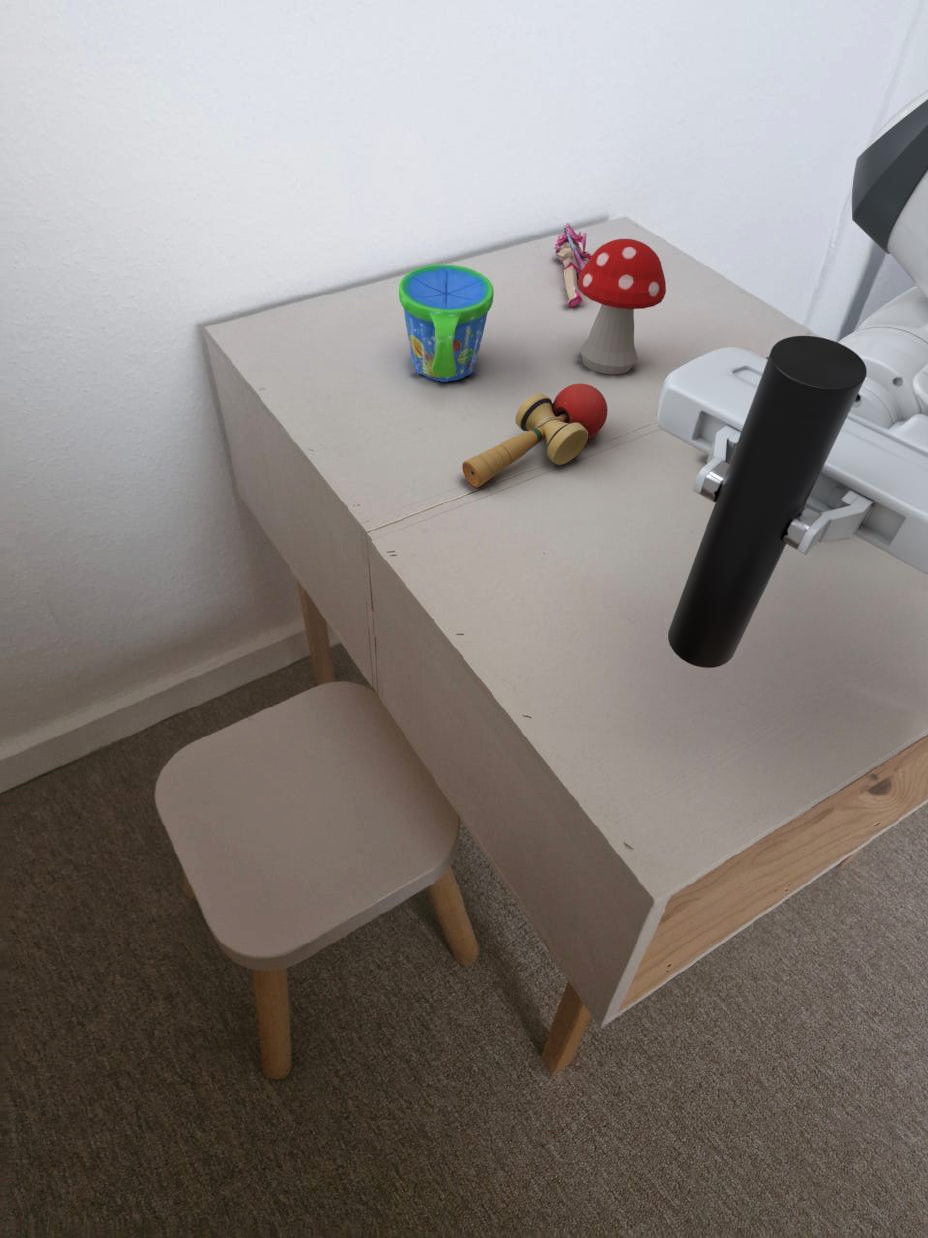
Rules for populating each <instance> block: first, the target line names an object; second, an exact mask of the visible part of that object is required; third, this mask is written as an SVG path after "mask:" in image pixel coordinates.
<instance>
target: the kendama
mask: <svg viewBox="0 0 928 1238" xmlns="http://www.w3.org/2000/svg"><path fill="white" fill-rule="evenodd" d="M607 418H608V403H607V400H606V398H605V397H604V395H603V394H602V392H601V391H600V390H599V389H598V388H596V387H595V386H593V385H591V384H588V383H581V382H580V383H572V384H570V385H568V386H566V387H564V388H563V389H561V390H560V391H559V392H558V393H557V395H556V396H555V398H554V400H552V399H551V398H550V397H549V396H548V395H547V394H544V393H541V392H540V393H539V392H537V393H534V394H533V395H531V396H529V397H528V398H527V399H526V400H524V401H523V403H522V404H521V405H520V407H519V408H518V410H517V412H516V413H515V424H516V425H517V427H518V428H519V429H520V430H521V431H524V432H523V433H521V434H518V435H516V436H513V437H511V438H509V439H507V440H505V441H502V442H501V443H499V444H497V445H495V446H493V447H491V448H489V449H487V450H485V451H484V452H483V451H482V452H481V453H479V454H477V455H474V456H473V457H470V458H469V459H466V460H465V461H463V462H462V464H461V469H462V472H463V475H464V477H465V479H466V480H467V482H468V483H469V484H470V485H471V486H472V487H474V488H477V489H478V488H480V487H481V486H483V485H484V484H485V483H487V482H488V481H489V480H490V479H492V478H494V477H495V476H496V475H497V474H499V473H500V472H502V471H504V470H505V469H506V468H508V467H509V466H510V465H512V464H514V463H515V462H516V461H517V460H519V459H521V458H522V457H523V456H524V455H526V454H527V453H528V452H530V450H532V449H533V448H534V447H535V446H537V445H538V444H539V443H540V442H541V441H542V440H544V441H545V443H546V457H547V458H548V459H549V460H550V461H551V462H552V464H553V463H554V464H555V465H556V466H561V465H562V466H563V465H565V464H567V463H569V462H571V461H572V460H573V459H574V458H576V457H577V456H578V455H579V454H580V453H581V452H582V451H583V449H584V447H585V446H586V443H587V441H588V439H591V438H594V437H595V436H596V435H598V433H599V432H600V431H601V430H602V429H603V427H604V426H605V423H606V421H607Z"/></svg>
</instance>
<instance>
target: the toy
mask: <svg viewBox="0 0 928 1238" xmlns="http://www.w3.org/2000/svg"><path fill="white" fill-rule="evenodd" d="M563 229H564V230H563V233H562V234H559V235H558V236H557V237H558V238H557V239H556V243H555V245H554V247H553V249H554V250H555V252H554V253H555V257H558V260H559V262H560V263H561V264H563V266H564V268H563V270H562V273H563V278H564V279H563V280H564V286H565V291H566V294H567V297H568V301H567V305H568V307H569V308H573V307H576V306H577V305H580V303H582V302H583V298H582V295H581V294H580V293H579V288H578V281H579V276H580V274H581V271H582V269H583V268H584V266H585V265H586V263H587V262H588V261H589V259H590V258H591V256H592V255H593V254H591V253H590V252H588V251H586V245H587V235H588V232H583V233H582V232H581V231H579V232H578V234H577V233H576V232H575V230H574V228H573V227H572V226H571V224H570V223H568V222H566V225H565V227H564V228H563ZM581 233H582V235H581ZM580 243H581V245H582V248H581V247H580ZM583 259H587V261H585V260H583Z"/></svg>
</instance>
